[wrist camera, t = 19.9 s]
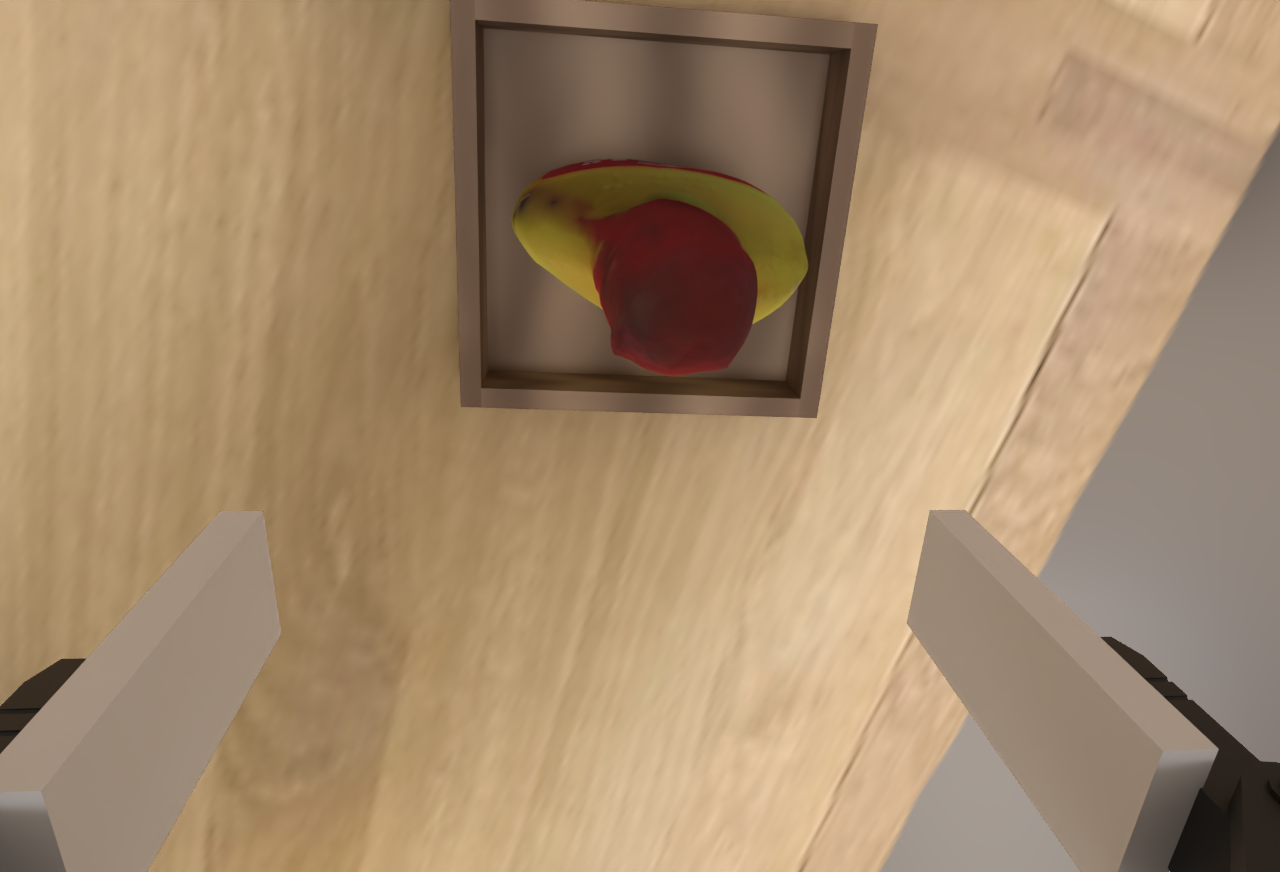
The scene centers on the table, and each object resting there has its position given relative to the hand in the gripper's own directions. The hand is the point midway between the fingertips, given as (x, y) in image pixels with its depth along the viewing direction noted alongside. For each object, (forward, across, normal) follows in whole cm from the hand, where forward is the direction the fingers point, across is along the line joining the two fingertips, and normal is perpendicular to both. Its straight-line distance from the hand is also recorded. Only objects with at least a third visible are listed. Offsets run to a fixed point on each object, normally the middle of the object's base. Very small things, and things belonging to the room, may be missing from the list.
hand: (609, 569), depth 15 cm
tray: (+27, +3, +4) cm, 27 cm away
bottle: (+26, +3, +4) cm, 27 cm away
